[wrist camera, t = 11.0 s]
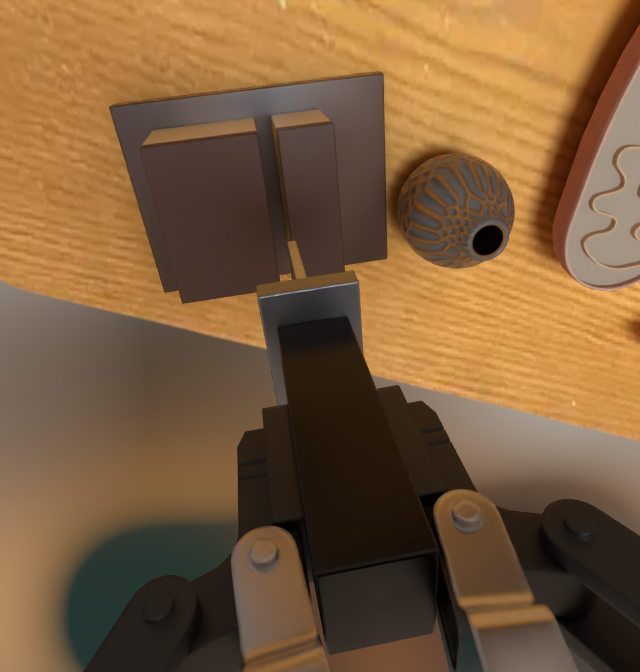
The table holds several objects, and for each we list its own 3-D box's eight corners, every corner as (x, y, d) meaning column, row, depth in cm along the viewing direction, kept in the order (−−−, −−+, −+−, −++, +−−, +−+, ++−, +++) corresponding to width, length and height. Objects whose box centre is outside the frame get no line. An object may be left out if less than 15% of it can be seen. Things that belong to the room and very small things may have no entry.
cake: (188, 269, 34) (182, 304, 30) (151, 130, 29) (138, 148, 25) (274, 256, 34) (281, 288, 30) (253, 117, 30) (257, 132, 25)
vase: (457, 250, 38) (512, 305, 30) (373, 230, 36) (410, 284, 28) (498, 158, 34) (571, 195, 27) (407, 131, 32) (459, 163, 25)
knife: (269, 329, 22) (313, 686, 10) (250, 222, 20) (279, 540, 8) (335, 318, 22) (452, 656, 11) (325, 211, 20) (468, 504, 8)
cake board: (165, 286, 36) (164, 293, 35) (111, 104, 29) (108, 106, 28) (383, 253, 37) (387, 259, 36) (379, 71, 30) (383, 72, 29)
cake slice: (289, 254, 35) (297, 286, 30) (270, 115, 30) (276, 130, 25) (331, 247, 35) (345, 278, 31) (319, 108, 30) (334, 122, 26)
